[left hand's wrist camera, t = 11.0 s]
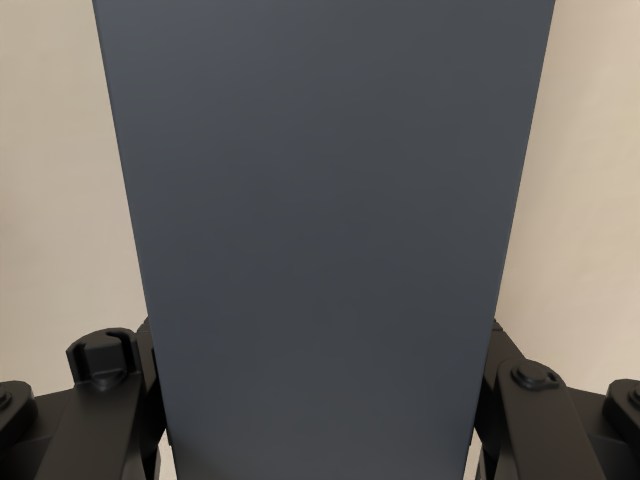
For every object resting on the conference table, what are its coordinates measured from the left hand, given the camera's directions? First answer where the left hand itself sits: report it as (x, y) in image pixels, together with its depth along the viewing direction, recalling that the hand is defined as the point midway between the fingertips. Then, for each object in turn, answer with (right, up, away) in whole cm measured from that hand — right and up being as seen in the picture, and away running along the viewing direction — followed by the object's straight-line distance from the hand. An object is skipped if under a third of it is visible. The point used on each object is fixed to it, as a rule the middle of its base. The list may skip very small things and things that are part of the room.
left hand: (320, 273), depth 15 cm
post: (0, +19, -7) cm, 20 cm away
